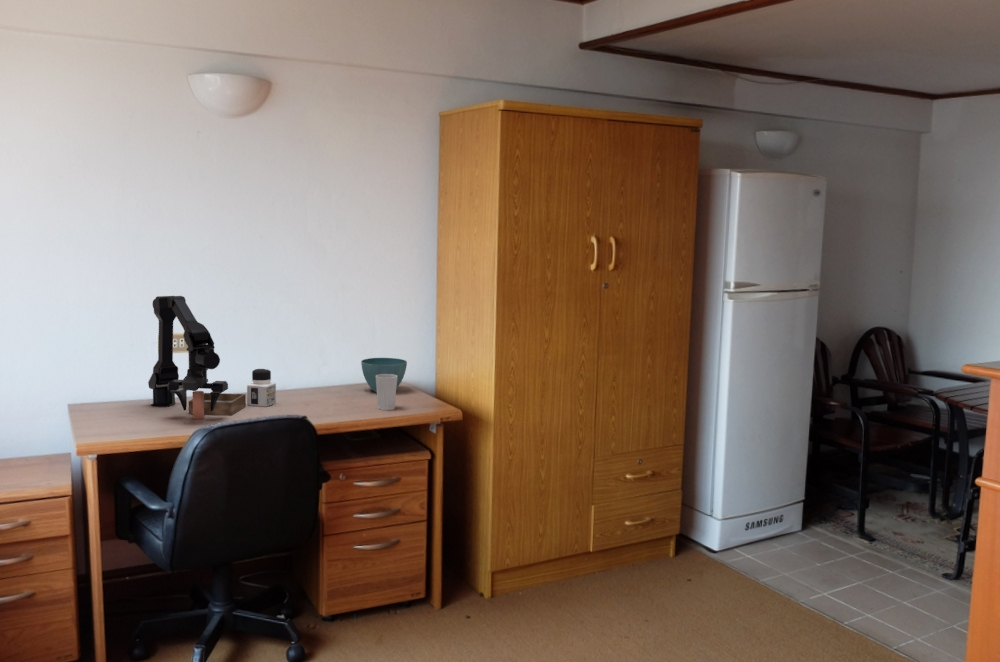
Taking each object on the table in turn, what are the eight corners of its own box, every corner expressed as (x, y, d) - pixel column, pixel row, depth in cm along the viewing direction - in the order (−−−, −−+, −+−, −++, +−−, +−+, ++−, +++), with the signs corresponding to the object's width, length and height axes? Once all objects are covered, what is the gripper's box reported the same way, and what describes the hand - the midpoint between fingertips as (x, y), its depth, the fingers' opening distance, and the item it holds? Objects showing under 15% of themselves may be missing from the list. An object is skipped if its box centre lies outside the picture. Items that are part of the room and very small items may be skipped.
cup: (401, 407, 317) (401, 375, 315) (389, 411, 309) (390, 378, 308) (382, 405, 320) (383, 373, 318) (370, 408, 313) (371, 376, 311)
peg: (191, 419, 289) (190, 392, 288) (195, 416, 293) (194, 390, 292) (201, 419, 289) (201, 393, 288) (205, 417, 293) (205, 391, 292)
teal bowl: (414, 389, 351) (415, 360, 350) (391, 397, 335) (391, 366, 333) (376, 385, 358) (377, 356, 357) (352, 392, 342) (352, 362, 340)
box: (188, 413, 297) (188, 401, 296) (204, 404, 312) (204, 392, 311) (231, 415, 296) (231, 402, 296) (245, 406, 311) (245, 394, 311)
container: (266, 407, 311) (266, 371, 310) (246, 405, 313) (246, 370, 311) (276, 402, 319) (276, 368, 317) (257, 401, 320) (256, 367, 319)
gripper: (160, 368, 281) (161, 415, 283) (216, 370, 281) (217, 416, 283) (173, 362, 292) (174, 407, 294) (228, 364, 292) (228, 409, 294)
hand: (198, 410), depth 291 cm, fingers open, 9 cm apart
